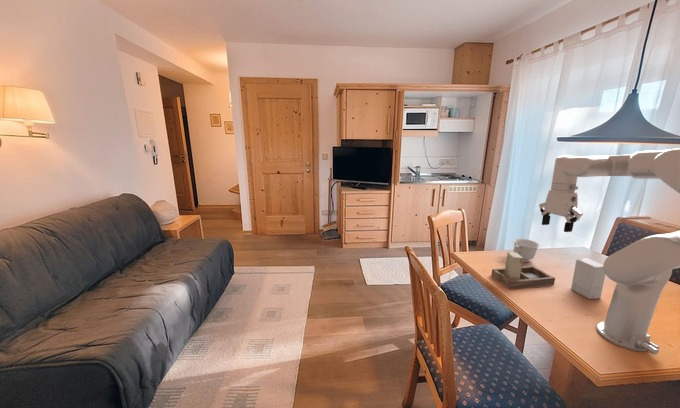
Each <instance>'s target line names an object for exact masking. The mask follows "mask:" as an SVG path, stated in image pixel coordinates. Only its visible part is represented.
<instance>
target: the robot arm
mask: <svg viewBox="0 0 680 408" xmlns="http://www.w3.org/2000/svg"><path fill="white" fill-rule="evenodd" d="M589 177H590V178H592V177H631V178H633V179H639V180H641V179H645V180H646V179H647V180H653V179H655V180H661V181H662V182H663V183H665V184H666V185H667V186H669V187H670V188H671V189H672V190H674V191H675V192H676V193H678V194H679V195H680V147H677V148H672V149H661V150H643V151H642V150H641V151H635V152H634V153H632V154H629V153H628V154H617V155H616V154H615V155H614V154H613V155H585V156H584V155H583V156H577V155H560V156H557V157H556V158H555V162H554V167H553V174H552V180H551V187H550V189H549V190H548V192H547V196H546V197H545V198H546V199H545V201H544V202H542V203H538V205H539V209H540V212H541V216H542V219H541V220H542V221H541V225H542V226H548V225H550V221H551V214H552V215H555V216H560V217H563V218H565V220H566V222H564V229H563V232H565V233H571V232H572V233H573V229H574V224H575V223H577V222H578V221H579V220H580V219H581V217H582V216H584V214H583V212H581V211H580V210H579V209H578V202H579V201H578V192H577V190H578V189H579V187H578V186H577V181H578V178H589ZM602 264H603V270H604V272H605V276H606V277H607V278H608V279H610V280H611V281H613V282H614V283H616V284H615V286H614V290H613V292H612V296H611V300H610V304H609V307H608V310H607V313H606V317H605V320H604V321H601V322H599V323H597V325H596V331H597V332H598V333H599V335H601V337H603V339H606V340H607V341H609V342H611V343H612V344H615V345H616V346H619V347H622V348H623V349H627V350H629V351H636V352H647V351H648V352H649V353H650V354H652V355H654V356H655V355H657V354H658V353H659V351H660V350H659V349H660V346H659V345H657V344H656V343H654V342H652V341H651V340H650V339H651V337H652V336H651V335H650V334H648V331H649V327H650V325H651V321H652V319H653V316H654V314H655V310H656V308H657V305H658V303H659V299H660V297H661V294H662V293H663V290H664V288H665V287H666V285H667V284H668V282H669V280H670V278H671V276H672V274H673V270H675V269H680V230H678V231H677V230H676V231H674V232H673V231H672V232H668V233H659V234H654V235H653V234H652V235H649V236H646V237H643V238H641V239H639V240H637V241H634V242H633V243H630V244H628V245H627V246H624V247H623V248H621V249H620V250H616V251H615V252H613V253H612V254H610V255H608V256H607V257H606V258H605V260H604V261H603V263H602Z"/></svg>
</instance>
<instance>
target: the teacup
mask: <svg viewBox="0 0 680 408" xmlns="http://www.w3.org/2000/svg"><path fill="white" fill-rule="evenodd" d="M512 242H513V244H514V246H513V253H518V254H519V255H520V256H522V257H523V263H529V262H530V260H533V259H534V258H535V256H536V253H537V250H538V249H539V248H540V246H541V245H540V244H539V243H538V242H536V241H533V240H530V239H526V238H515V239H513V241H512Z"/></svg>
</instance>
